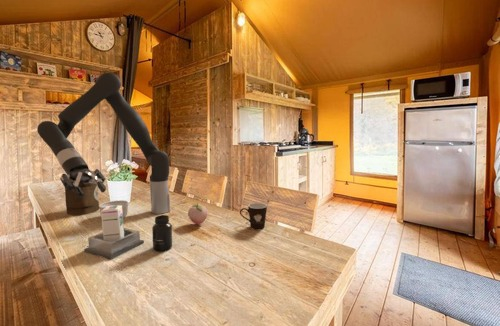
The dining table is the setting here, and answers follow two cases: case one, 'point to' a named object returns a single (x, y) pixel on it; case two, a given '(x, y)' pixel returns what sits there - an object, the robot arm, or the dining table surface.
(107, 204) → the ramekin
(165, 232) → the supplement bottle
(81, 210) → the wooden container
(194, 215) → the decorative fruit
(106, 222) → the syrup box
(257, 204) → the coffee mug
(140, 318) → the dining table surface
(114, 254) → the collar
